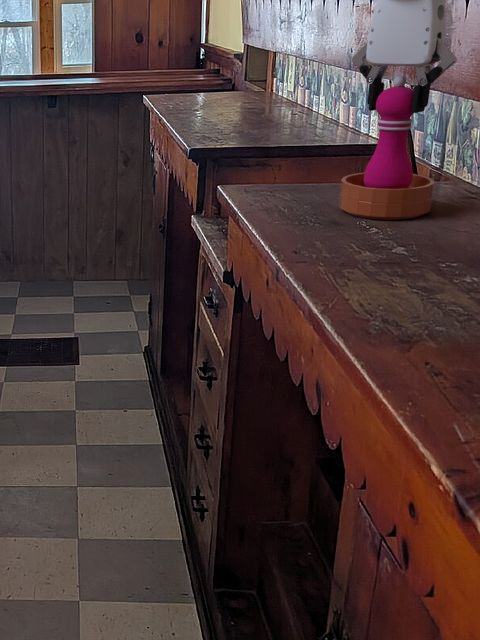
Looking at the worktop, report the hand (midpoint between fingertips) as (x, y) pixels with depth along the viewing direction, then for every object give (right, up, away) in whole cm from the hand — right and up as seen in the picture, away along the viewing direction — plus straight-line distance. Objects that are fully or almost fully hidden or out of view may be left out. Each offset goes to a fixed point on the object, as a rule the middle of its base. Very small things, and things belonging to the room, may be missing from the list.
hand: (396, 109), depth 134 cm
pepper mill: (+1, -14, +6) cm, 15 cm away
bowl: (+1, -15, +6) cm, 16 cm away
